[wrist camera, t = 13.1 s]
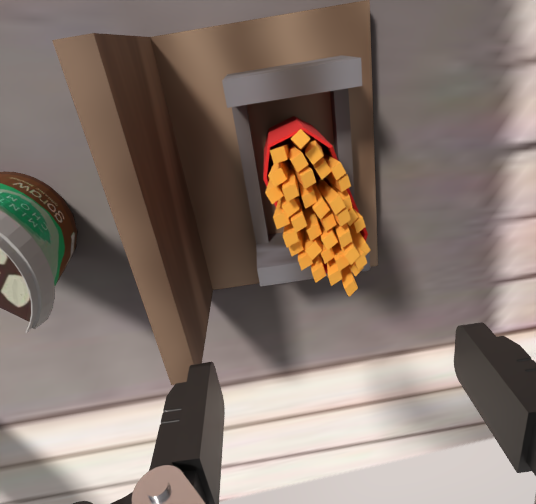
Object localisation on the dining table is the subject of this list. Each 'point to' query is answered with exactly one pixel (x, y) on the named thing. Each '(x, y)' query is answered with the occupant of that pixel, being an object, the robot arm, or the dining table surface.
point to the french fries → (314, 203)
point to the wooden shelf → (217, 150)
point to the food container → (32, 245)
